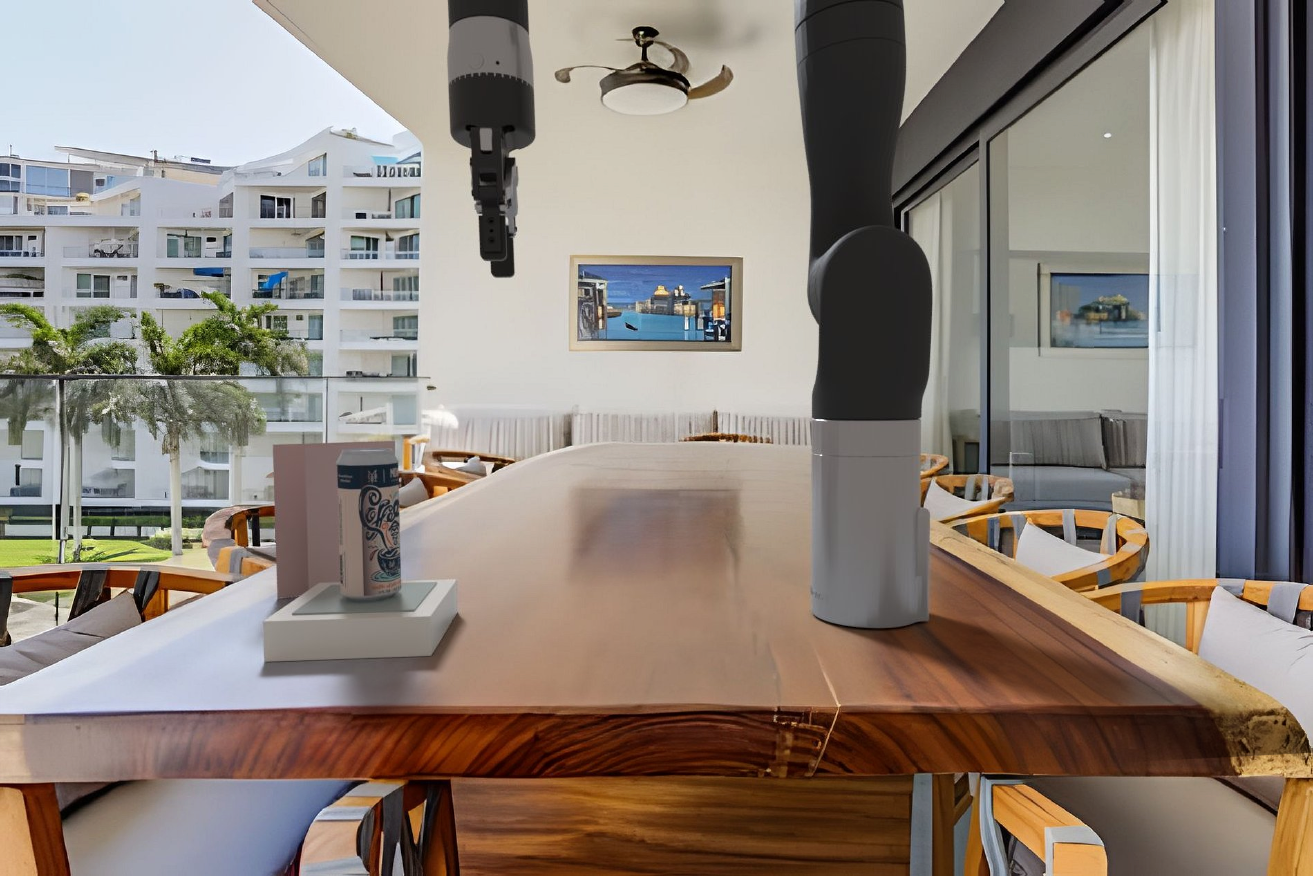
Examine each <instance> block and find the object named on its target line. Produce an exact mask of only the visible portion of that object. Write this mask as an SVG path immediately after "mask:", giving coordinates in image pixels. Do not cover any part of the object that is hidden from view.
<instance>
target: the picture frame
mask: <svg viewBox="0 0 1313 876" xmlns="http://www.w3.org/2000/svg"><path fill="white" fill-rule="evenodd" d="M401 587H402V588H401V590H400V591H398V592H397V593H395V594H394V595H393V596H392V597H390V598H387V599H383V600H377V601H368V602H357V601H351V600H348V599H347V598H345V597H343V596H342V595H340V593H339V592H340V582H333V583H319V584H317V585H316V586H314V587H313V588H311V589H310V590H308V591H307V592H305V593H304V594H302V595H301V596H297V597H296V598H294V600H292V601H290V602H289V603H288V604H287V605H285V606H283V607H282V608H280V609H279V610H278V611H276V612H275V613H273V614H271V615H270V616H269V617H267V618H266V619H264V620H263V621H262V632H263V633H262V635H263V636H262V637H263V638H262V639H263V662H269V663H270V662H291V661H293V662H294V661H295V662H297V661H318V660H319V661H321V660H322V661H323V660H353V659H378V658H379V659H380V658H381V659H382V658H403V657H405V658H407V657H408V658H409V657H410V658H411V657H432V655H433V653H434V652H435V650H436V649H437V647H438V645H439V643H440V642H441V640H442V639H443V637H444V635H445V634H446V632H447V630H448V629H449V627H450V626H451V624H452V622H453V621H454V619H455V617H456V616H457V613H458V612H459V611H458V610H459V609H458V608H459V607H458V603H459V602H458V600H459V599H458V579H457V578H456V579H455V578H451V579H448V578H447V579H418V580H417V579H415V580H401ZM452 620H453V621H452ZM449 625H450V626H449Z"/></svg>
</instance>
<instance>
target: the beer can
mask: <svg viewBox="0 0 1313 876" xmlns="http://www.w3.org/2000/svg"><path fill="white" fill-rule="evenodd" d="M399 463H400V461H399V459H398V458H397V456H396V453H395V454H394V452H393V449H389V448H364V449H348V450H342V452H341V455H340V457H339V459H338V461H337V462H336V464H337V481H338V518H339V554H340V592H339V593H340V595H342V596H343V597H345V598H347V599H348V600H351V601H357V602H368V601H377V600H383V599H387V598H390V597H392V596H393V595H394V594H395V593H397V592H398V591H400V590H401V588H402V587H401V581H402V568H401V566H402V565H401V531H400V530H401V521H400V520H401V519H400V516H401V515H400V483H399V482H400V481H399V479H400V477H399V474H400V473H399Z"/></svg>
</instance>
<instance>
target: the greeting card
mask: <svg viewBox="0 0 1313 876" xmlns="http://www.w3.org/2000/svg"><path fill="white" fill-rule="evenodd" d="M364 448H389V449H393V452H394V454H395V455H396V440H377V441H351V442H347V441H346V442H321V443H320V442H317V443H315V442H314V443H281V444H278V443H277V444H272V460H273V461H272V464H273V466H272V467H273V494H274V495H273V498H274V500H273V501H274V502H273V503H274V528H275V530H274V531H275V561H276V563H275V565H276V591H277V592H276V594H277V597H276V598H277V599H285V598H292V597H299V596H301V595H302V594H304V593H305V592H307V591H308V590H310V589H311V588H313V587H314V586H316V585H317V584H319V583H333V582H340V554H339V518H338V481H337V464H336V462H337V461H338V459H339V457H340V455H341V452H342V450H348V449H364Z"/></svg>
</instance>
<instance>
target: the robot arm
mask: <svg viewBox="0 0 1313 876" xmlns="http://www.w3.org/2000/svg"><path fill="white" fill-rule="evenodd" d="M528 1H529V0H447V12H448V14H447V15H448V43H447V44H448V45H447V57H446V59H447V60H446V61H447V62H446V63H447V65H446V67H447V84H448V86H447V87H448V88H447V89H448V107H449V108H448V110H449V111H448V112H449V113H448V115H449V132H450V135H451V138H452V139H453V141H455V142H456V144H459V145H461V146H463V147H465V148H467V149H470V152H471V154H470V155H471V156H469V169H470V175H471V179H470V187H471V191H470V192H471V193H470V194H471V197H472V198H473V201H475V203H474V210H475V211H476V215H478V237H479V239H478V242H479V255H480V258H481V259H482V260H483V261H485V262H490V274H491V275H492V277H494V278H496V279H499V278H501V279H502V278H503V279H504V278H505V279H506V278H507V279H509V278H513V277H514V276H515V274H516V271H515V246H514V242H515V241H514V239H515V238H516V235H517V232H518V227H517V226H516V217H517V215H518V214H519V213H518V212H519V201H518V191H517V189H518V187H519V186H518V185H519V179H520V178H519V169H518V168H519V167H518V165H517V159H516V157H515V156H513V157H511V156H510V153H511V152H513V151H515V150H523V149H525V148H527V147H529V146H530V145H532V144H533V143H534V141H535V139H536V136H537V135H536V113H535V112H536V108H535V86H534V85H535V84H534V64H533V54H532V50H531V43H530V26H529V25H530V23H529V22H530V21H529V2H528ZM793 1H794V2H793V6H794V14H793V15H794V23H793V24H794V27H793V28H794V45H795V46H794V47H795V48H794V49H795V63H796V64H795V65H796V66H795V67H796V77H797V80H796V81H797V86H798V88H797V89H798V96H799V97H798V98H799V105H800V106H799V108H800V117H801V118H800V119H801V125H802V127H801V128H802V137H803V144H804V149H805V150H804V152H805V159H806V160H805V161H806V165H807V166H806V167H807V171H808V180H809V193H810V194H809V195H810V223H809V224H810V226H809V228H810V229H809V251H808V252H809V254H808V271H807V272H808V273H807V284H806V286H807V288H806V295H807V302H808V303H807V304H808V306H809V310H810V313H811V315H812V317H813V319H814V320H815V322H816V324H817V325H818V348H817V349H818V352H817V353H818V354H817V355H818V357H817V367H816V374H815V375H816V376H815V379H814V384H813V387H812V392H811V393H812V394H811V418H812V419H811V491H810V492H811V494H810V495H811V496H810V497H811V504H810V505H811V509H810V511H811V516H810V517H811V522H810V524H811V526H810V527H811V528H810V531H811V532H810V534H811V542H810V550H811V551H810V552H811V553H810V556H811V557H810V567H811V568H810V569H811V571H810V572H811V574H810V577H811V578H810V596H811V597H810V607H811V608H810V612H811V613H812V615H814V616H815V617H817V618H819V619H821V620H823V621H826V622H829V623H832V624H837V625H842V626H848V627H853V628H854V627H856V628H867V629H869V628H870V629H887V628H888V629H889V628H890V629H891V628H899V627H904V626H908V625H911V624H914V623H918V622H928V621H930V559H931V558H930V555H931V553H930V552H931V549H930V548H931V547H930V545H931V513H930V511H929V509H928V508H926V507H924V506H923V507H922V506H921V490H922V489H921V487H922V485H921V482H922V481H921V480H922V479H921V478H922V475H921V467H922V466H921V465H922V457H921V456H922V453H921V452H922V419H921V418H922V415H923V414H922V412H923V411H922V408H923V400H924V399H923V398H924V394H925V392H926V389H927V386H928V382H929V378H930V370H931V369H930V368H931V350H932V348H931V347H932V330H933V329H932V328H933V327H932V326H933V305H934V303H933V299H934V298H933V279H932V271H931V267H930V264H929V261H928V258H927V255H926V254H925V251H924V250H923V249H922V247H921V246H920V244H919V243H918V242H917V241H916V240H915V239H914V238H913V237H912V236H911V235H910V234H908V233H906V232H905V231H903V230H901V229H898V228H897V227H896V226H895V218H894V209H893V208H894V207H893V195H892V188H893V184H892V183H893V169H894V161H895V156H896V150H897V145H898V139H899V135H900V129H901V122H902V120H901V119H902V114H903V108H904V102H905V93H906V83H907V40H906V23H905V22H906V21H905V9H904V8H905V7H904V0H793ZM506 218H507V221H506Z"/></svg>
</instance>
